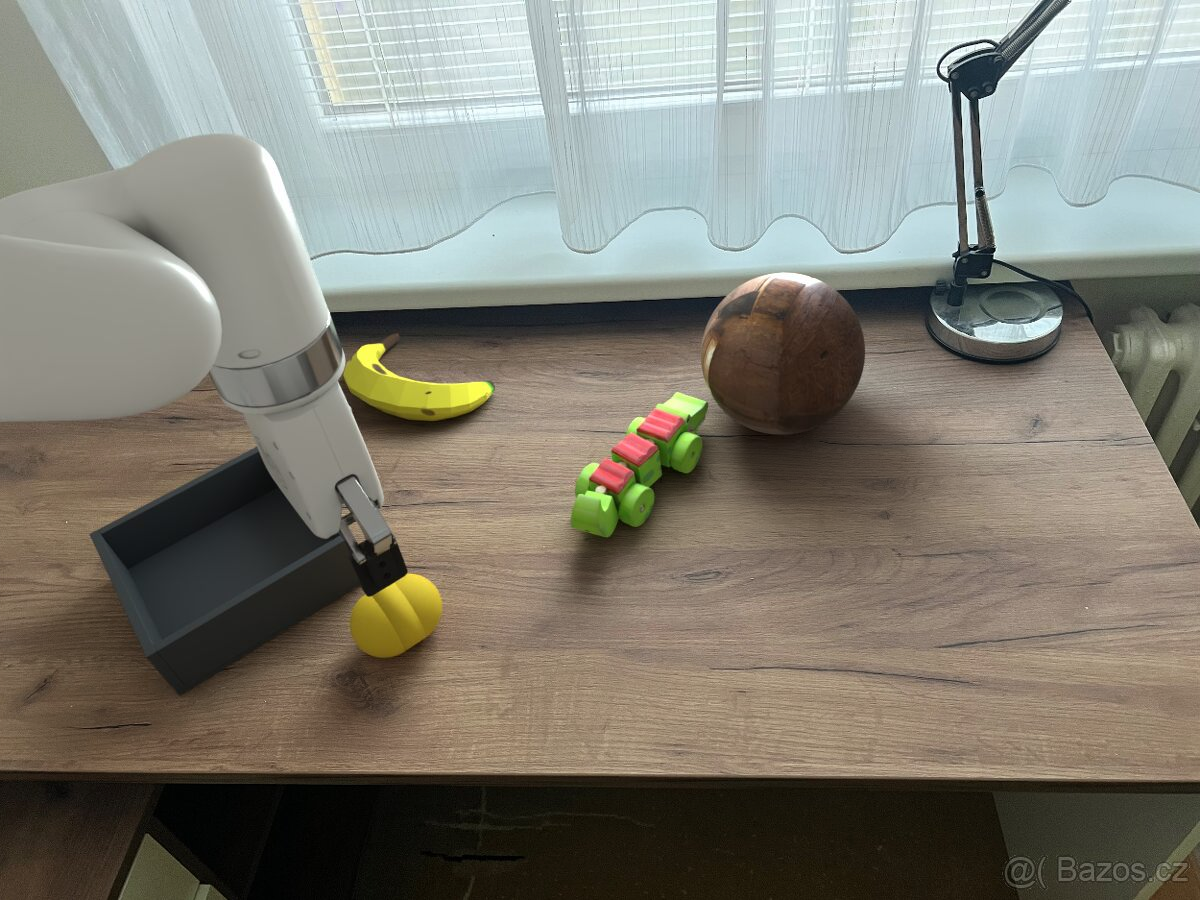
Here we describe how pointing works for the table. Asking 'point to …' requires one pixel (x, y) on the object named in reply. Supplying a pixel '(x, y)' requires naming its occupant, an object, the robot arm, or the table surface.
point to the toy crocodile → (638, 466)
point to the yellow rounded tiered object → (396, 616)
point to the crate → (219, 570)
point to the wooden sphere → (782, 353)
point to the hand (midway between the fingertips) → (355, 543)
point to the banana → (409, 388)
